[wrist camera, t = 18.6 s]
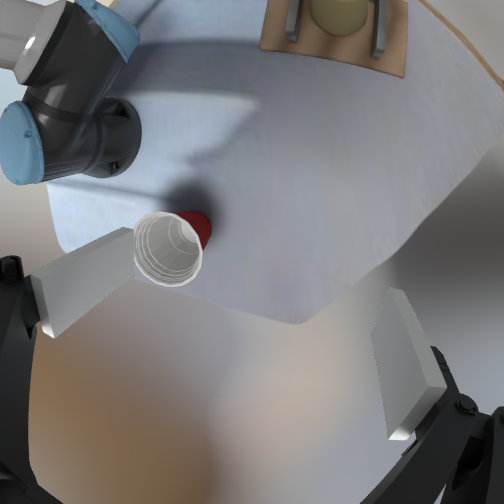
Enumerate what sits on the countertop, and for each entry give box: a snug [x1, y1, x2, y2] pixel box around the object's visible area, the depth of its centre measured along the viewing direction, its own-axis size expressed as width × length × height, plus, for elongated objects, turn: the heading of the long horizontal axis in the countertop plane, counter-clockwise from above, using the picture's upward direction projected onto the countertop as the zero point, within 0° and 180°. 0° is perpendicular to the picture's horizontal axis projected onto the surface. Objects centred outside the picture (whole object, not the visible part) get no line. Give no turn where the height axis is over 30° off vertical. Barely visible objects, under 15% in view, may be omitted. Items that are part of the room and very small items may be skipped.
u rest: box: [259, 0, 408, 79], centre depth 29 cm, size 22×15×6 cm
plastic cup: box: [134, 211, 212, 287], centre depth 43 cm, size 11×11×12 cm
